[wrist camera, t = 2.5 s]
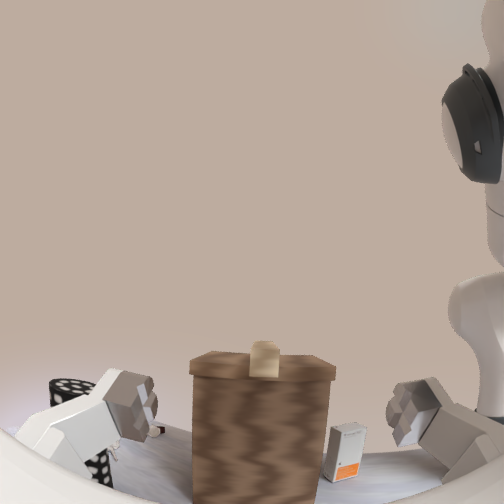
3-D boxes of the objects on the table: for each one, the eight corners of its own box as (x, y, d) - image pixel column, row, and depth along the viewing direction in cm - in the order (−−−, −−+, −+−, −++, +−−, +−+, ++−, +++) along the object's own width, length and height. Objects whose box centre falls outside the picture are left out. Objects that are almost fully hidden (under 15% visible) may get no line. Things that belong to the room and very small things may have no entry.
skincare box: (332, 483, 36) (341, 432, 39) (322, 475, 40) (329, 426, 43) (358, 476, 37) (367, 426, 41) (348, 468, 42) (355, 421, 45)
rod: (271, 358, 46) (272, 341, 47) (278, 377, 27) (279, 349, 28) (254, 357, 46) (255, 340, 47) (249, 376, 27) (250, 348, 28)
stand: (302, 466, 45) (312, 355, 52) (316, 510, 28) (336, 366, 35) (208, 462, 46) (212, 350, 53) (189, 504, 29) (189, 360, 36)
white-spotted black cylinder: (56, 492, 20) (37, 380, 25) (84, 477, 28) (74, 376, 33) (98, 515, 19) (79, 399, 24) (124, 494, 27) (115, 390, 32)
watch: (140, 439, 52) (140, 427, 53) (134, 432, 55) (133, 420, 56) (168, 437, 57) (168, 425, 58) (160, 430, 60) (160, 419, 61)
